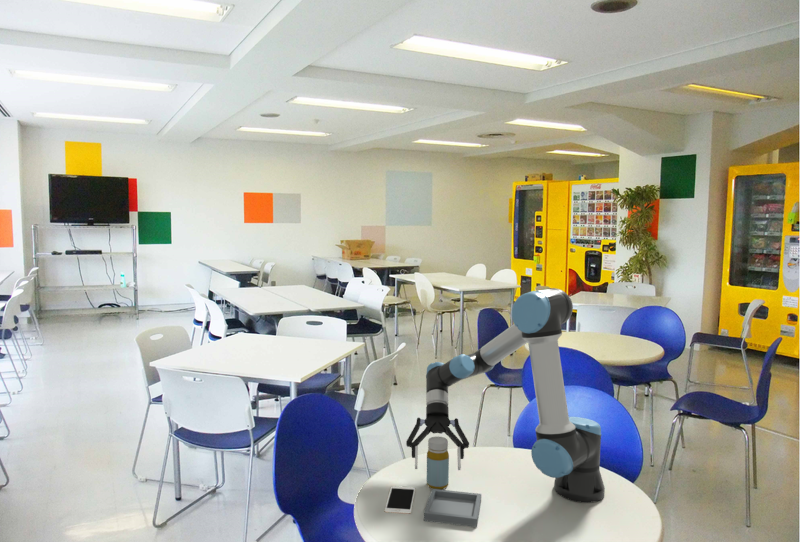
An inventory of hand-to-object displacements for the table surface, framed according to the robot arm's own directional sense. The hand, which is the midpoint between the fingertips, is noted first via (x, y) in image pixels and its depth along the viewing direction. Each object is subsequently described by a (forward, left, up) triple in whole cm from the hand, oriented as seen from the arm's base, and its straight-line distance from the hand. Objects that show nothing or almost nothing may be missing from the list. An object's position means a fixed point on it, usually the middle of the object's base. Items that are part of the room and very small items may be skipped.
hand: (437, 468), depth 184 cm
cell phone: (+10, +10, -7) cm, 16 cm away
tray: (-7, +13, -7) cm, 16 cm away
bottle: (0, -2, -7) cm, 7 cm away
